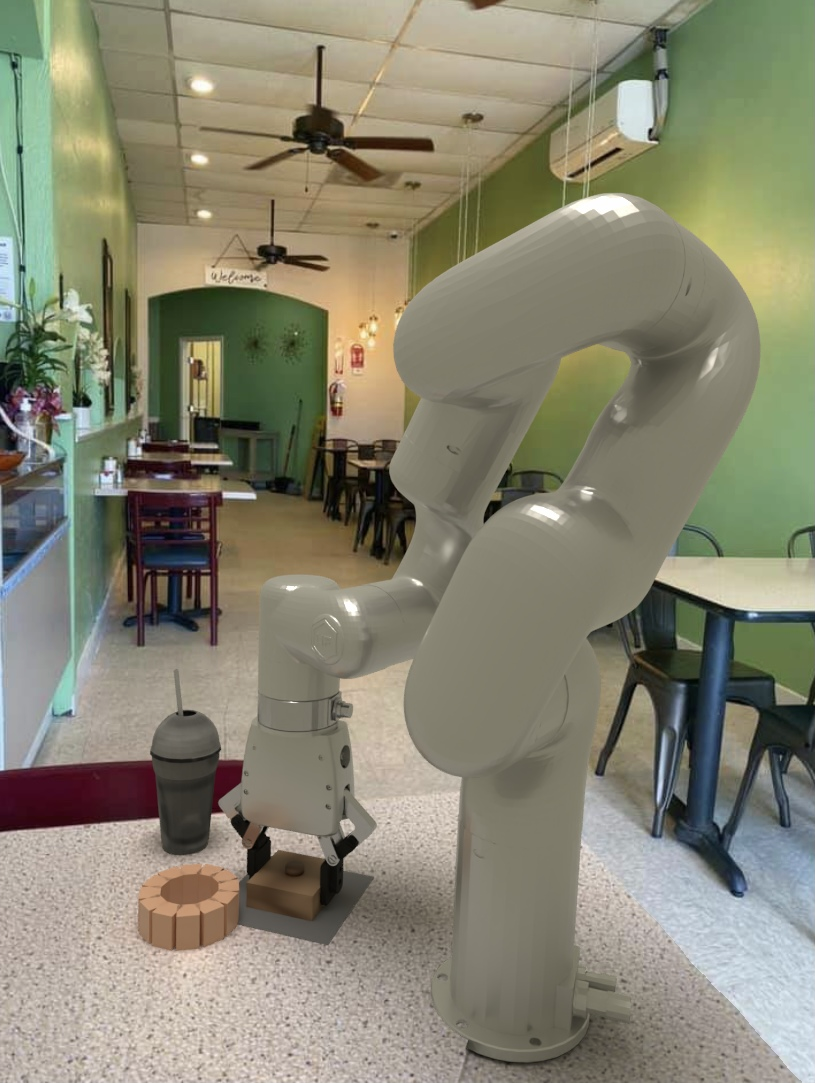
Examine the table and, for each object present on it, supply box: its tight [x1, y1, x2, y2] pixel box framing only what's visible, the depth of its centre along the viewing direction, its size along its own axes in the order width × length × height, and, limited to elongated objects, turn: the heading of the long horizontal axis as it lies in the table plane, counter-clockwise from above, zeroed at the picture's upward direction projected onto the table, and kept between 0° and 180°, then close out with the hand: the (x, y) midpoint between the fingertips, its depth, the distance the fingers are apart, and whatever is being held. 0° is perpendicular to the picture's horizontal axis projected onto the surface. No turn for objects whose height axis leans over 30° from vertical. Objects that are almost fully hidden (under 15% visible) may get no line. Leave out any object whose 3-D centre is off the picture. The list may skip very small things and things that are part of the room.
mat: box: [237, 855, 375, 946], centre depth 78 cm, size 12×12×1 cm
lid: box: [246, 849, 325, 921], centre depth 78 cm, size 7×7×3 cm
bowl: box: [137, 863, 240, 952], centre depth 73 cm, size 9×9×4 cm
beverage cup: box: [149, 668, 222, 856], centre depth 86 cm, size 7×7×20 cm
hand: (294, 888), depth 78 cm, fingers closed on lid, 6 cm apart
